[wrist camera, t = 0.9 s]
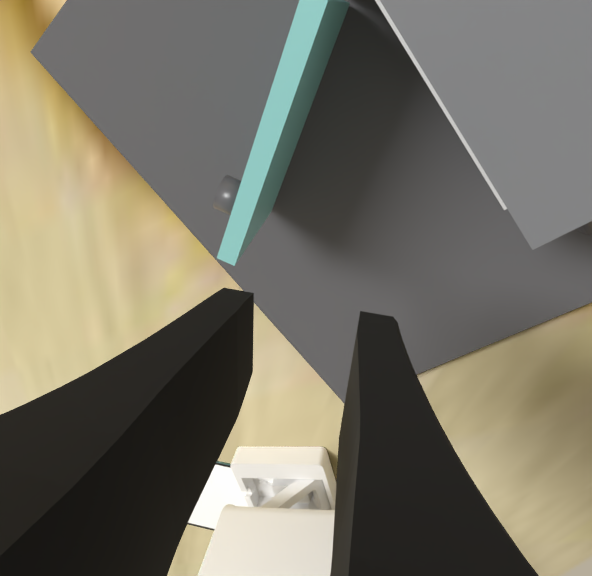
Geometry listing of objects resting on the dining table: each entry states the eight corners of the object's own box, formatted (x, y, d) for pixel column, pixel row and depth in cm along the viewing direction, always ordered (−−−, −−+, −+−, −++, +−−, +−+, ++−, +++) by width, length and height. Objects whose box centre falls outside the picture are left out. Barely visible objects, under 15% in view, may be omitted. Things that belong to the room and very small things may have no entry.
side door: (370, -34, 13) (354, -53, 9) (276, 210, 18) (238, 268, 14) (316, -60, 13) (276, -90, 9) (235, 192, 18) (186, 244, 14)
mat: (939, -1219, 6) (963, -1273, 6) (1088, 89, 12) (1103, 90, 12) (36, 51, 17) (30, 52, 17) (345, 400, 23) (344, 404, 23)
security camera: (369, 513, 27) (354, 733, 19) (262, 508, 30) (206, 705, 21) (351, 440, 25) (322, 662, 16) (233, 440, 27) (154, 638, 18)
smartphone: (134, 504, 34) (349, 555, 31) (130, 511, 33) (348, 563, 30) (114, 433, 29) (360, 484, 27) (109, 439, 29) (360, 492, 26)
